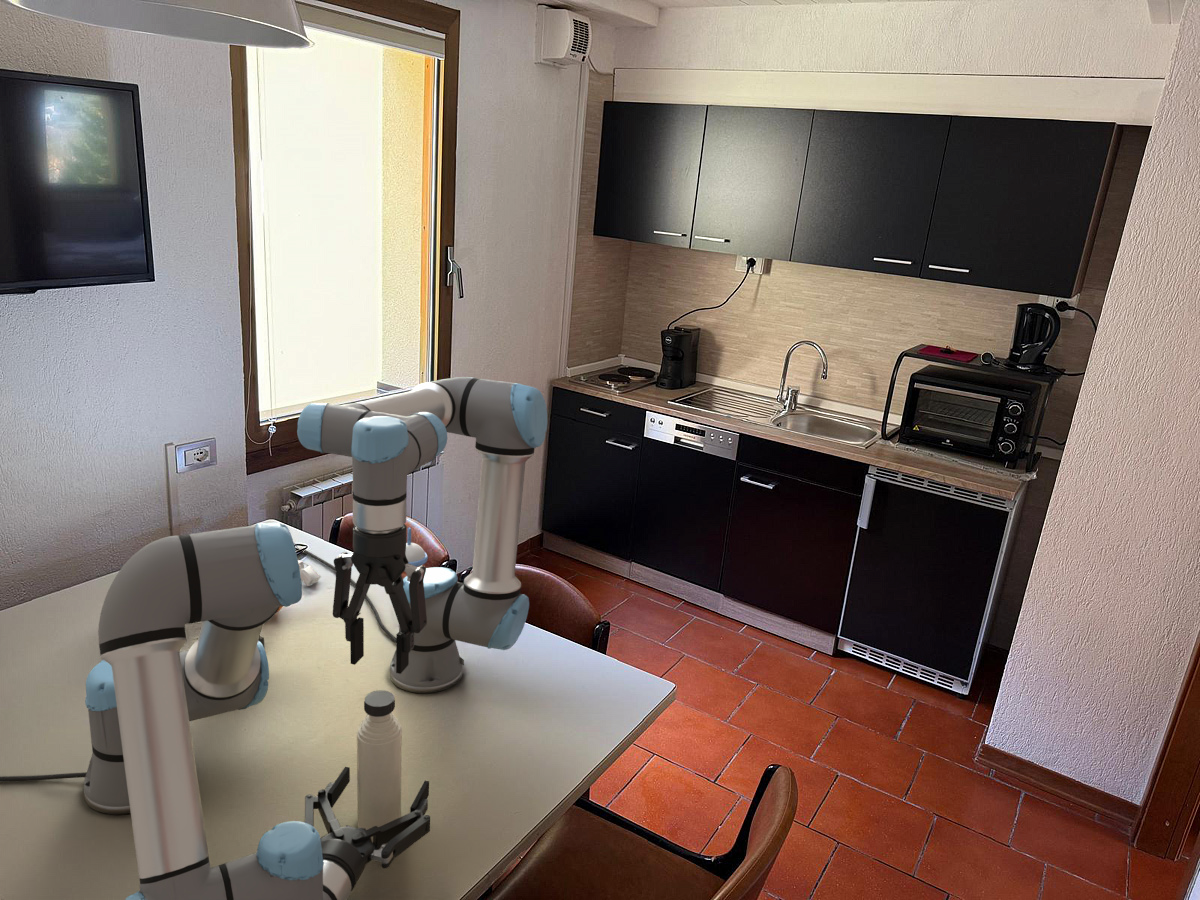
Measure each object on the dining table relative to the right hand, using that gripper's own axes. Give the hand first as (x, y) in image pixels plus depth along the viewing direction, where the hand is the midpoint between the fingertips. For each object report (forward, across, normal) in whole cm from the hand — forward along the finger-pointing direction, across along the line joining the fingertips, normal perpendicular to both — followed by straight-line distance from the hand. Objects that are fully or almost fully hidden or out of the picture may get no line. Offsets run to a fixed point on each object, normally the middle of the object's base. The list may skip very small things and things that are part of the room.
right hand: (379, 664), depth 130 cm
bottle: (+30, 0, 0) cm, 30 cm away
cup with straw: (+30, +30, -76) cm, 87 cm away
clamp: (+30, +63, -74) cm, 102 cm away
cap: (+6, 0, 0) cm, 6 cm away
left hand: (+24, 0, -3) cm, 24 cm away
